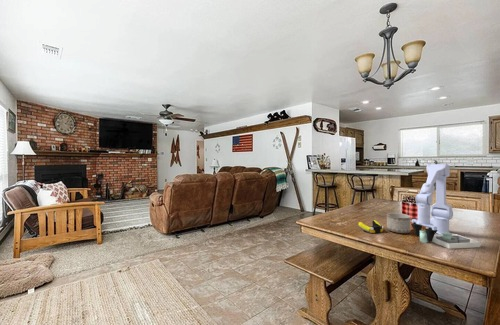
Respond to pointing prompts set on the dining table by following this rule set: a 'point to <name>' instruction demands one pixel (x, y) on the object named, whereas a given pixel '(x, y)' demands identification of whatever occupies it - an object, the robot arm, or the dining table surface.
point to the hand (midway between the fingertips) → (423, 238)
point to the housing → (454, 241)
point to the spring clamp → (372, 229)
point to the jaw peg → (423, 236)
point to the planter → (398, 222)
